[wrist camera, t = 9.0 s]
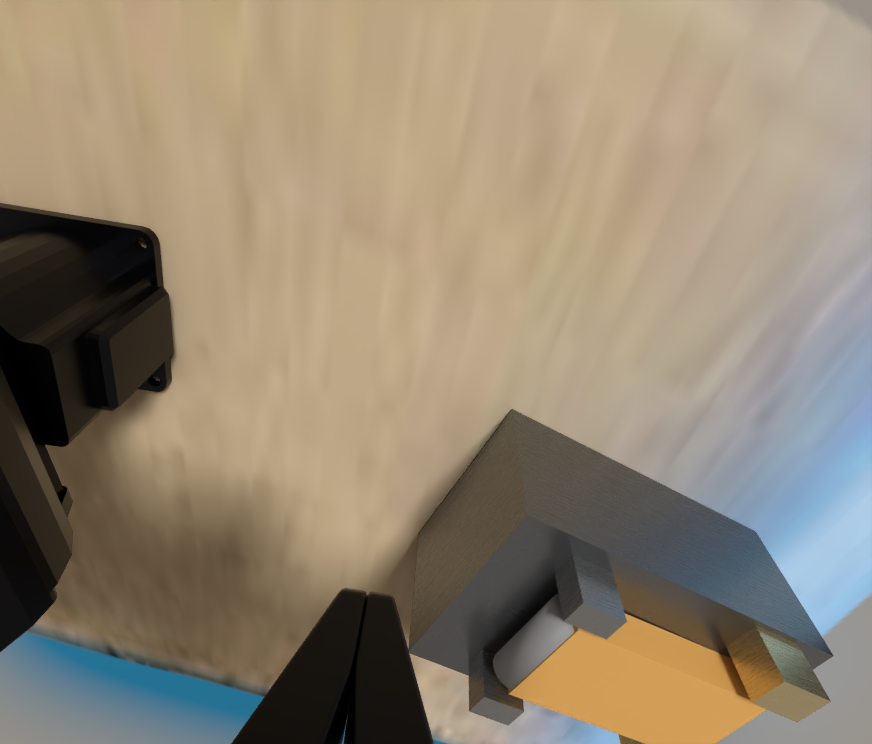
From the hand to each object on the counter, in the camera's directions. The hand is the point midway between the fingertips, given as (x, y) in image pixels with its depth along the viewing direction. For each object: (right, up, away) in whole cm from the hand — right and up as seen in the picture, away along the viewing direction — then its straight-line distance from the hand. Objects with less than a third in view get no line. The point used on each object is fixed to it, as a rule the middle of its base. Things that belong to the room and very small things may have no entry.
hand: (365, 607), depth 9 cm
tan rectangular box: (+8, -7, +11) cm, 15 cm away
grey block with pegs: (+8, -4, +17) cm, 19 cm away
